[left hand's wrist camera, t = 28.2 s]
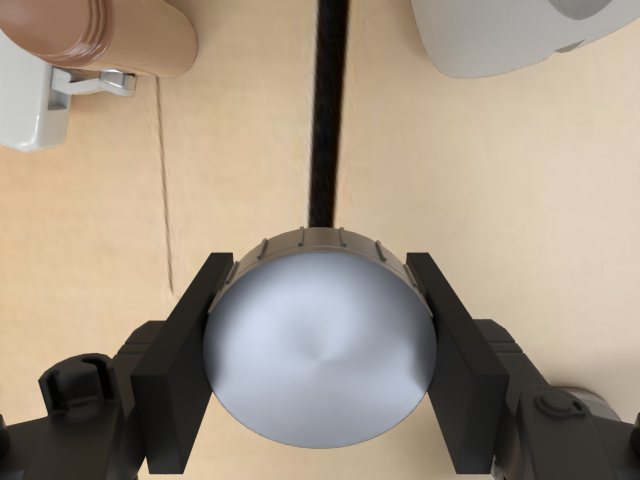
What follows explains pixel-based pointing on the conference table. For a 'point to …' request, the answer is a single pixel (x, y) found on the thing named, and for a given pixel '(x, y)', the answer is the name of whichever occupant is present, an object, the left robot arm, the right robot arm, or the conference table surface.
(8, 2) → the jar
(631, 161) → the conference table surface
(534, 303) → the conference table surface
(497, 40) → the projector
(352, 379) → the lid
